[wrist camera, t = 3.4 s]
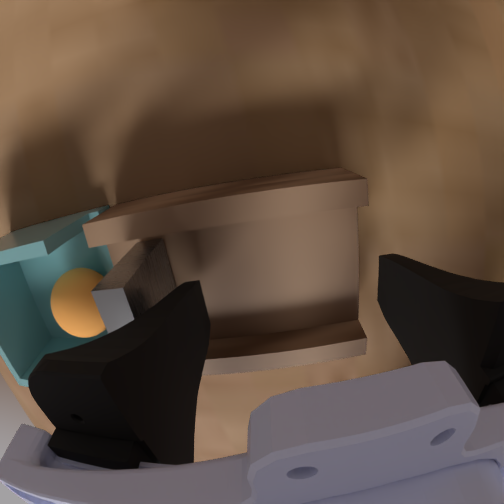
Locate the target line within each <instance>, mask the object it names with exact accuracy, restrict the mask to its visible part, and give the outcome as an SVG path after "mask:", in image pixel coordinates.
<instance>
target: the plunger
mask: <svg viewBox="0 0 504 504" xmlns="http://www.w3.org/2000/svg"><path fill="white" fill-rule="evenodd" d="M175 288H176V285H175V282H174V278H173V275H172V271H171V268H170V264H169V260H168V256H167V253H166V249H165V245H164V241H163V238H160V239H154V240H148V241H142V242H137V243H136V244H135V245H134V246H133V247H132V248H131V249H130V250H129V251H128V252H127V253H126V254H125V255H124V256H123V258H122V259H121V260H120V261H119V262H118V263H117V264H116V265H115V266H114V267H113V268H112V269H111V270H110V271H109V272H108V273H107V274H106V275H105V277H104V278H103V279H102V280H101V281H100V282H99V283H98V284H97V285H96V286H95V287H94V288H93V290H92V291H91V293H92V296H93V298H94V301H95V303H96V306H97V308H98V311H99V313H100V315H101V318H102V320H103V322H104V325H105V327H106V329H107V332H108V333H110V332H113V331H115V330H117V329H119V328H121V327H122V326H124V325H126V324H127V323H129V322H131V321H132V320H134V319H136V318H137V317H139V316H140V315H141V314H143V313H144V312H146V311H147V310H148V309H150V308H151V307H152V306H154V305H155V304H156V303H158V302H159V301H160V300H161V299H163V298H164V297H165V296H166V295H168V294H169V293H170V292H171V291H173V290H174V289H175Z"/></svg>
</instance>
